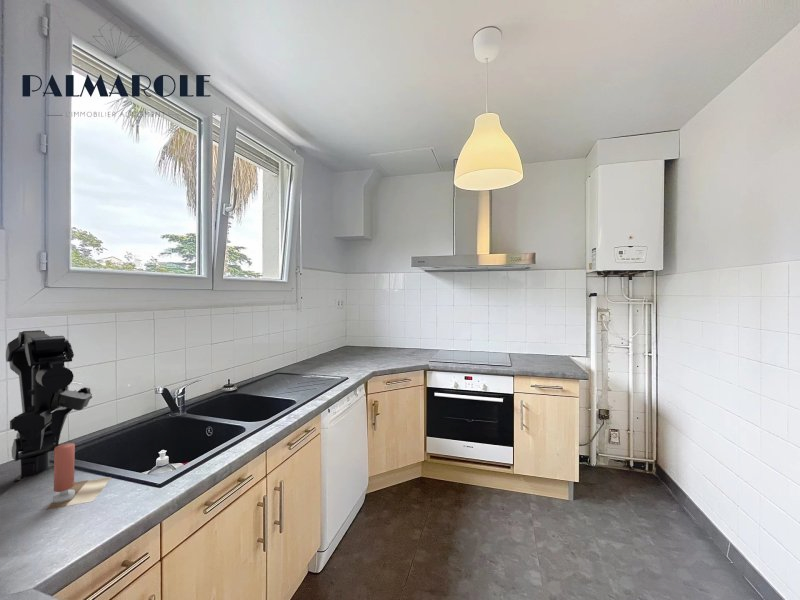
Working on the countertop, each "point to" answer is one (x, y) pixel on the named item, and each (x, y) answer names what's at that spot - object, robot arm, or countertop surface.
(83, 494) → the board
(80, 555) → the countertop surface
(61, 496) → the pink cylinder white base
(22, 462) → the robot arm
